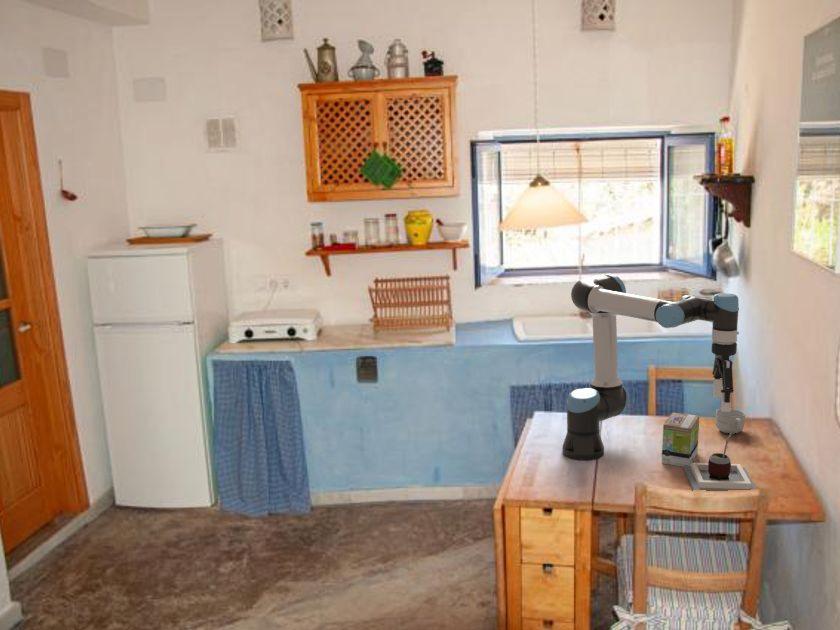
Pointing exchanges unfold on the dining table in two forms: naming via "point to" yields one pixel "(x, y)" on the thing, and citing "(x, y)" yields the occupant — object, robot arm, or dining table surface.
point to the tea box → (680, 439)
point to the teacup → (730, 421)
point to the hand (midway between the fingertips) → (721, 404)
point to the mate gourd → (719, 465)
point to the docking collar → (701, 480)
